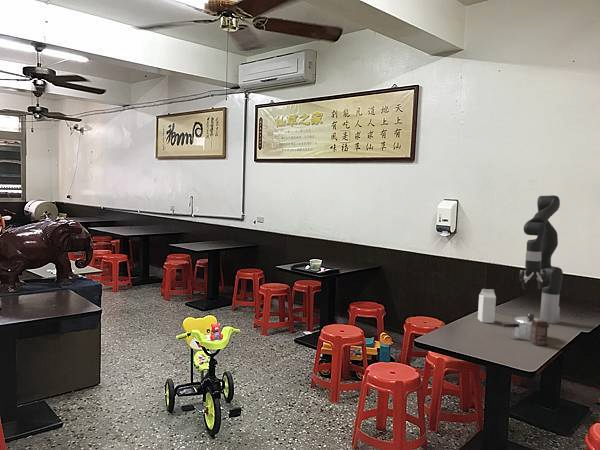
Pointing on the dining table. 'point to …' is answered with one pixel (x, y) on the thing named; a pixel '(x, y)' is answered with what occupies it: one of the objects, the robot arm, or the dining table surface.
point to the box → (539, 332)
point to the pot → (521, 330)
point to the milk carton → (487, 306)
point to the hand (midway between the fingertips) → (532, 289)
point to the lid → (526, 319)
